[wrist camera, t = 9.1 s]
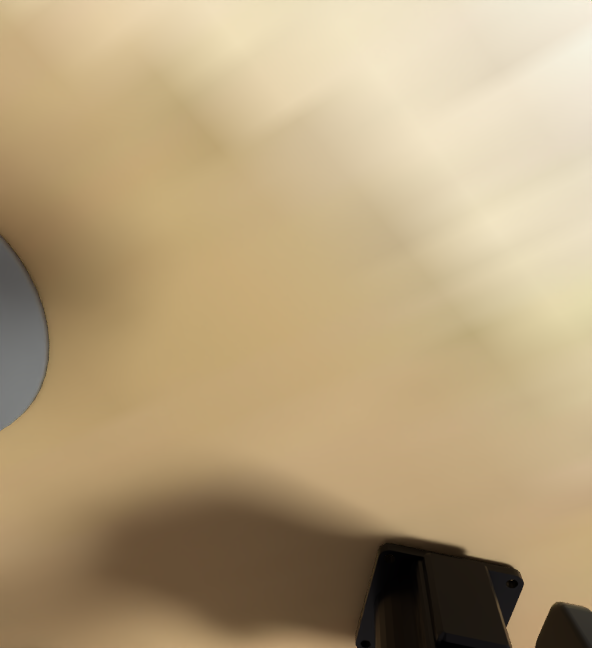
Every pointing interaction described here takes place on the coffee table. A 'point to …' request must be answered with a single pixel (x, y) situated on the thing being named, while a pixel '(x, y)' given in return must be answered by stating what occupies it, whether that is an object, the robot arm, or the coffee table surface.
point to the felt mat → (19, 338)
